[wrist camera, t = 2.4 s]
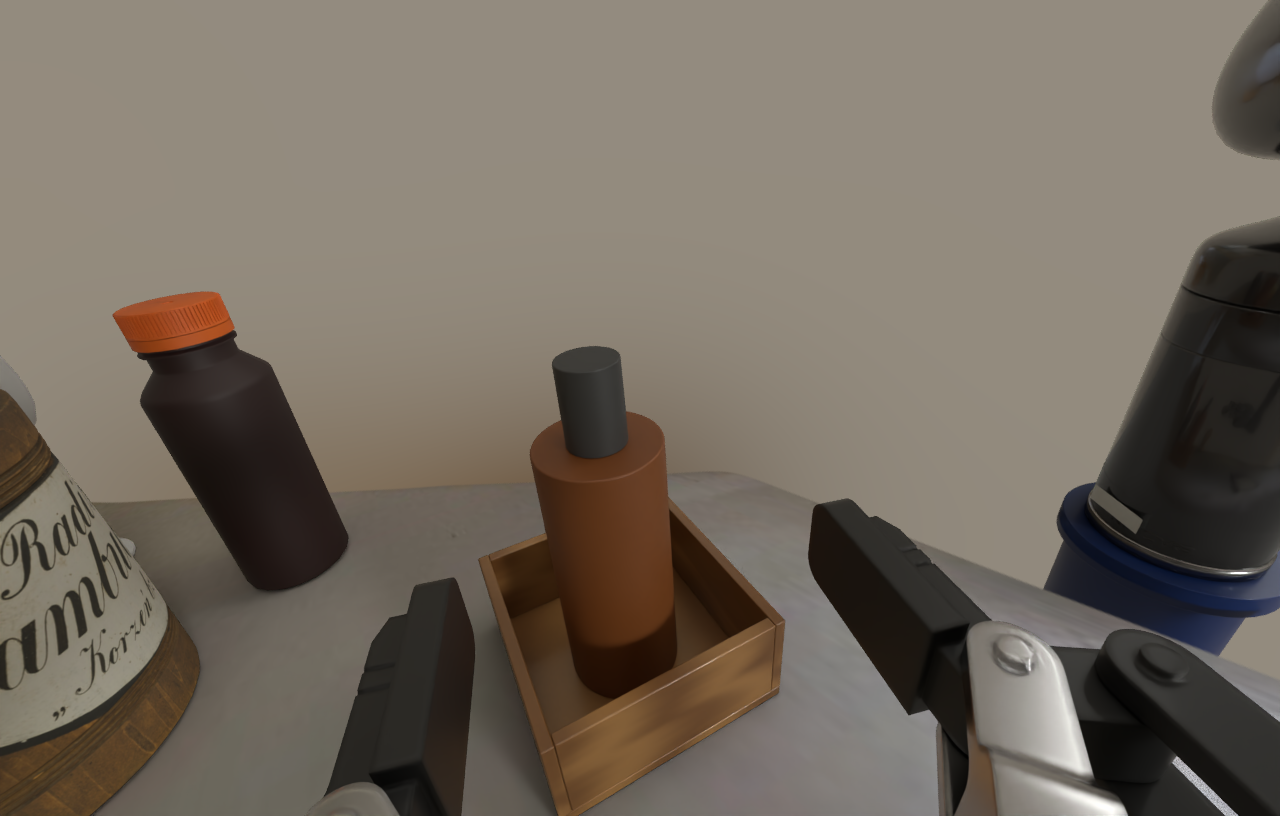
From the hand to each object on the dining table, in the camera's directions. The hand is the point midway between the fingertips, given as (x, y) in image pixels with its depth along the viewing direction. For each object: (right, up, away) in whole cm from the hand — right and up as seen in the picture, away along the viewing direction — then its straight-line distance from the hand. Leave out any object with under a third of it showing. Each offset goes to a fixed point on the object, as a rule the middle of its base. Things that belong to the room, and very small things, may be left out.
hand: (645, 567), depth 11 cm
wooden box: (-1, -11, +18) cm, 21 cm away
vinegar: (-26, -8, +28) cm, 39 cm away
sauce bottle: (-1, -10, +18) cm, 21 cm away
